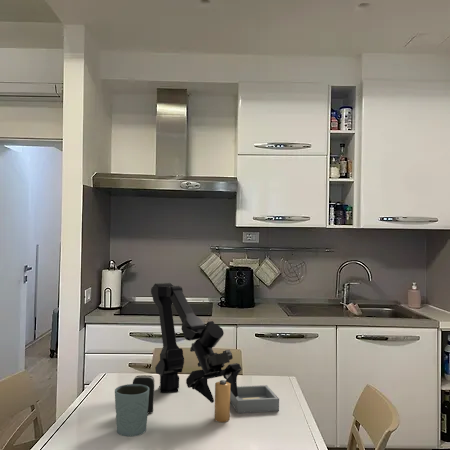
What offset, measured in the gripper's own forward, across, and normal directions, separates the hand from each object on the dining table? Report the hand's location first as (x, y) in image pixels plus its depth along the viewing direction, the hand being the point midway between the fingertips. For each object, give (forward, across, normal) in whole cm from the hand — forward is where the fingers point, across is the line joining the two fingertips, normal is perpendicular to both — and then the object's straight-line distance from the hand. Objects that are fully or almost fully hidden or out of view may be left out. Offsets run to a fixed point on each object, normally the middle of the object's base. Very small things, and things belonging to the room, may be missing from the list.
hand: (225, 399), depth 149 cm
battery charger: (-10, -18, +19) cm, 28 cm away
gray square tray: (0, +16, +9) cm, 19 cm away
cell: (+4, 0, +6) cm, 7 cm away
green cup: (-2, -27, +12) cm, 30 cm away
